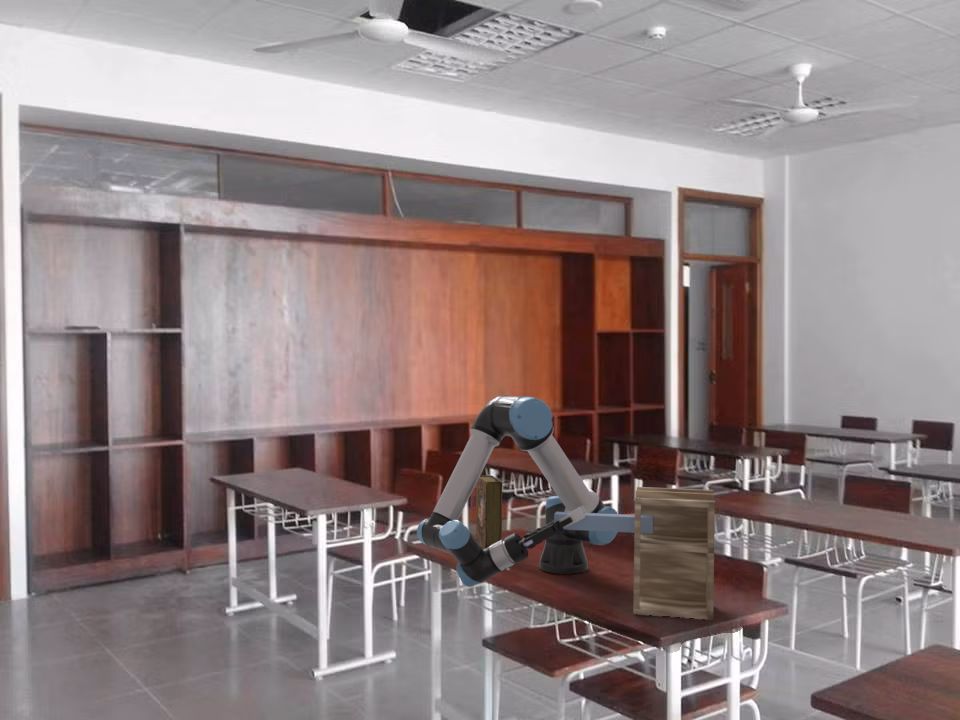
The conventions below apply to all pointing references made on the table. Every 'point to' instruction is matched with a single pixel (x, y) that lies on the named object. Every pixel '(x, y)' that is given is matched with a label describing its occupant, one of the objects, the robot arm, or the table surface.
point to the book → (488, 510)
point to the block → (608, 522)
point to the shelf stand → (674, 553)
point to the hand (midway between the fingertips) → (583, 511)
